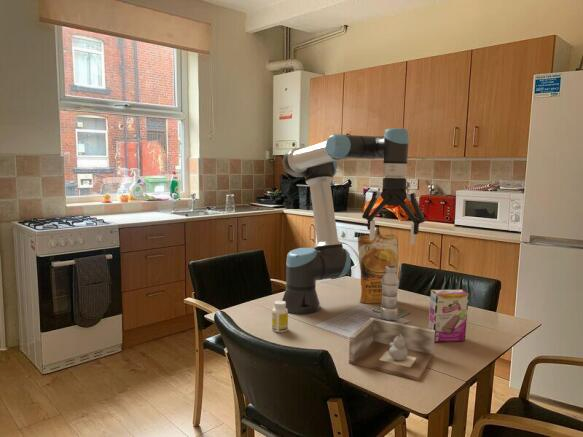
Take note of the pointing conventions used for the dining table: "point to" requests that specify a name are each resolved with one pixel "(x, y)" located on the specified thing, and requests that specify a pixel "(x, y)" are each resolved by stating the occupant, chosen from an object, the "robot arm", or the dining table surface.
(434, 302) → the candy bar box
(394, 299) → the plastic bottle
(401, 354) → the white lumpy figure
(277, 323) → the supplement bottle
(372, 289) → the pancake mix bag
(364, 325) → the arena
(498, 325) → the dining table surface
